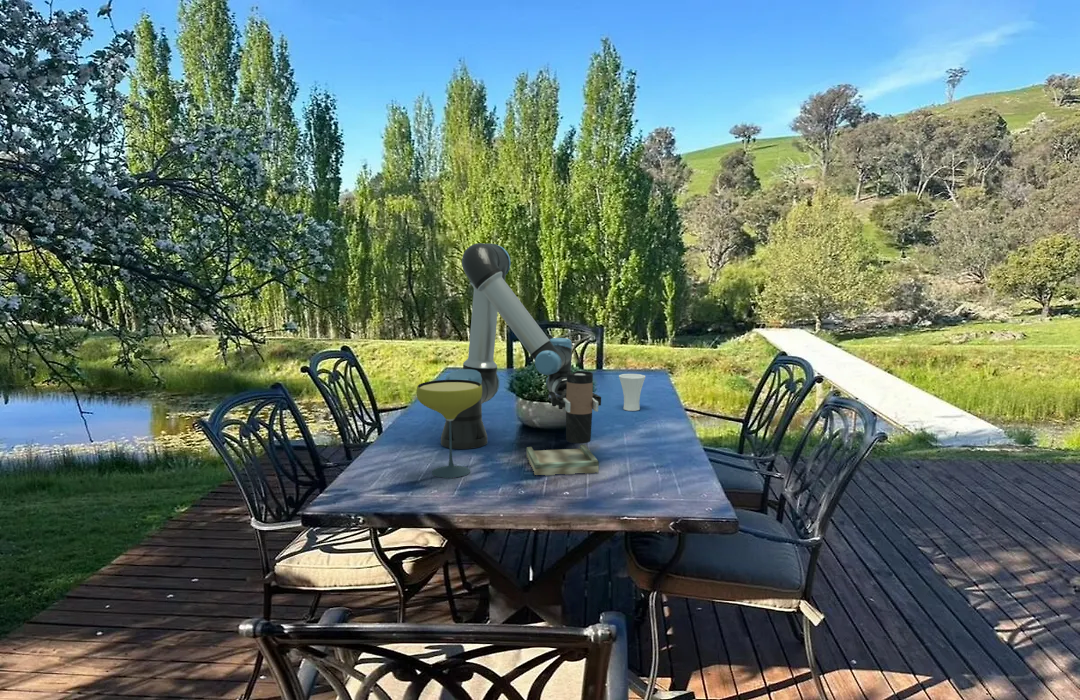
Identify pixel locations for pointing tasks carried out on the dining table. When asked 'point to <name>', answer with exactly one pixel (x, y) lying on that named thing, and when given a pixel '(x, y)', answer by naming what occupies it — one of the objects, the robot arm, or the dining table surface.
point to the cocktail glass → (449, 410)
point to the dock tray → (562, 461)
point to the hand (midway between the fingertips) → (583, 407)
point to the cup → (631, 390)
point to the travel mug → (579, 407)
